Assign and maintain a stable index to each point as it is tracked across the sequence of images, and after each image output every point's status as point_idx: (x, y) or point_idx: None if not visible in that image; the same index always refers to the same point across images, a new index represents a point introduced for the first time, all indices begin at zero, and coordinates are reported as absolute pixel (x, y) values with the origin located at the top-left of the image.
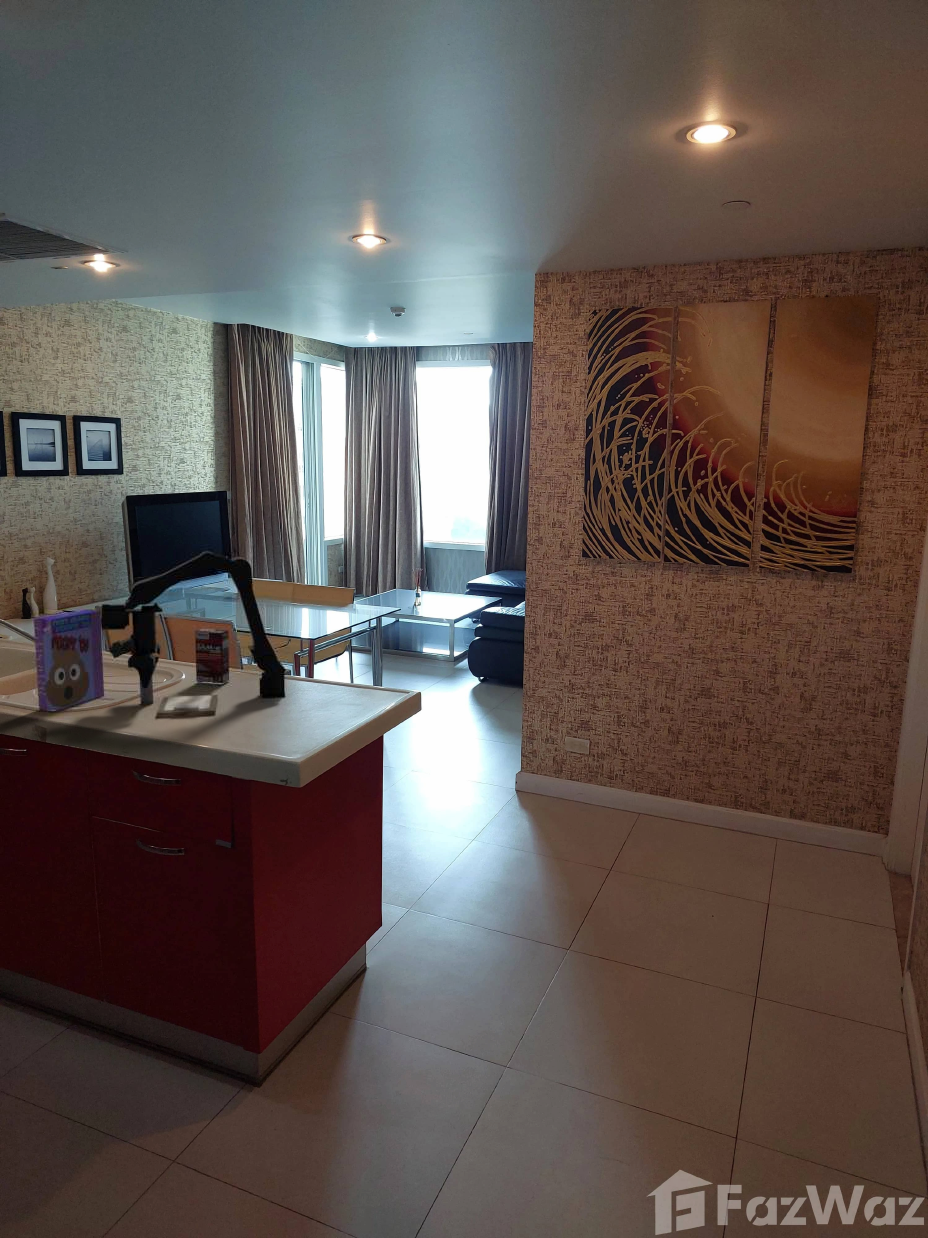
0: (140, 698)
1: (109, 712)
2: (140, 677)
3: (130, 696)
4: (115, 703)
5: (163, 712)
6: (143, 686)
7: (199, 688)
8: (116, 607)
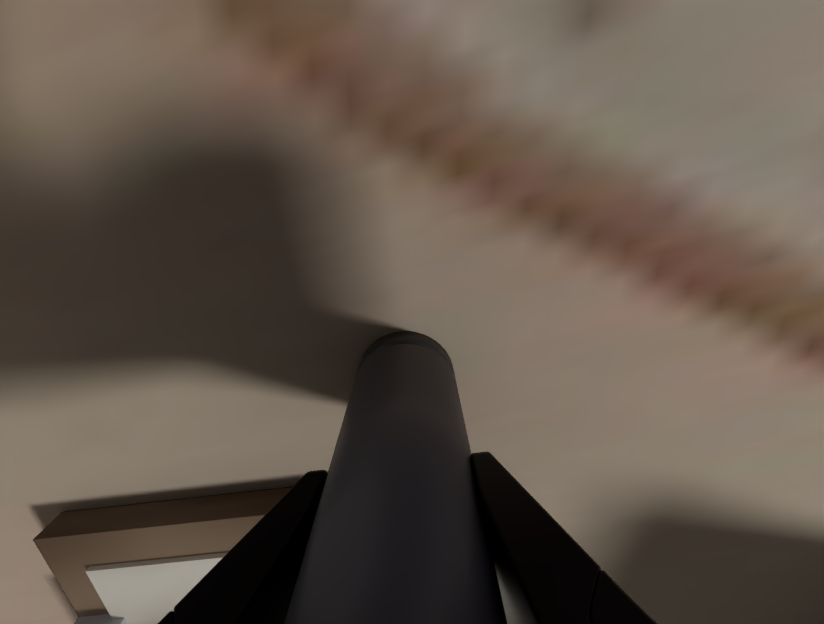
0: (379, 358)
1: (109, 145)
2: (181, 610)
3: (677, 173)
4: (421, 100)
5: (53, 571)
6: (298, 491)
7: (798, 596)
8: None
